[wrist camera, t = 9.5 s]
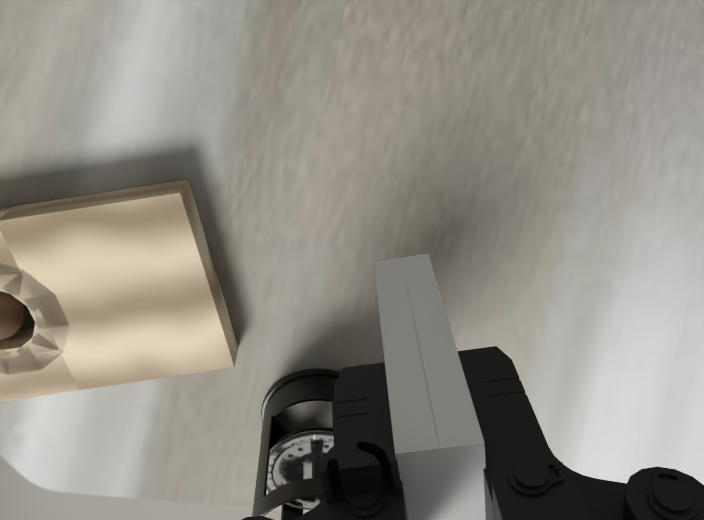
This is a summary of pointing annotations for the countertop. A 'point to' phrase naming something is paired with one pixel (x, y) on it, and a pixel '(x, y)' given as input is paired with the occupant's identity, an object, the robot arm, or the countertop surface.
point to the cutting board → (111, 291)
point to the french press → (293, 447)
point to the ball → (10, 315)
